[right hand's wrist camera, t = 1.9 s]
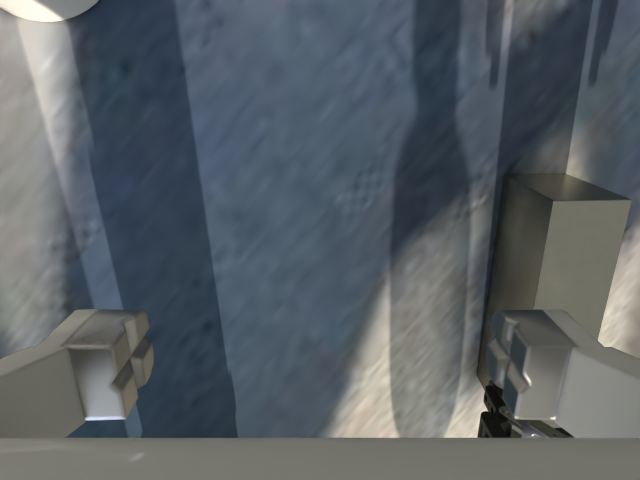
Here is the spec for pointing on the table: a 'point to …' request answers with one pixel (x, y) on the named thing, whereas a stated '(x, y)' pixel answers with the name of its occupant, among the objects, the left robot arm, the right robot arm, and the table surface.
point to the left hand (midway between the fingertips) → (536, 386)
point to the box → (553, 251)
